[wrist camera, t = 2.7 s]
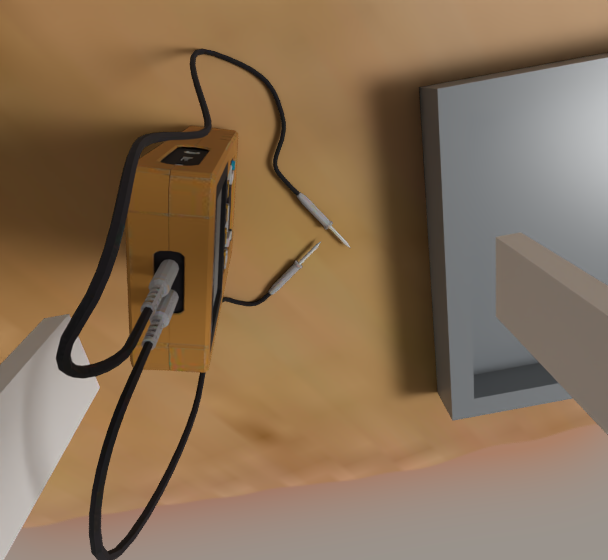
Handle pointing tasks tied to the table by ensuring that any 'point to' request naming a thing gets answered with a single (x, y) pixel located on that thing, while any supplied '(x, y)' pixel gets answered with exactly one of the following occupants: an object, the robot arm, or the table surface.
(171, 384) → the table surface
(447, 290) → the tray
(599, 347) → the robot arm
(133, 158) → the multimeter
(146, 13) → the table surface
